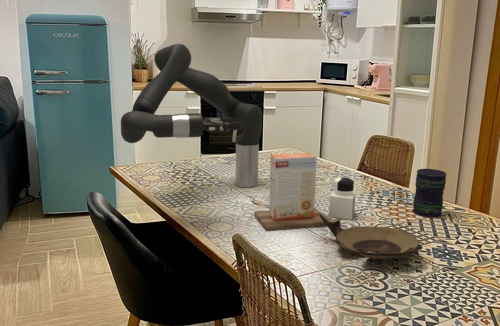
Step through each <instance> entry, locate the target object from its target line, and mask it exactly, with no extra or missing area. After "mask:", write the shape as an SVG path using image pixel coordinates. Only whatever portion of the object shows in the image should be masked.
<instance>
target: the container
mask: <svg viewBox="0 0 500 326" xmlns="http://www.w3.org/2000/svg"><path fill="white" fill-rule="evenodd" d="M354 184H355V181H354V180H353V179H352V178H349V177H345V176H342V177H341V176H340V177H337V178H335V179H334V181H333V191H332V192H331V194H330V196H329V206H328V207H329V208H328V217H329V218H335V219H340V220H342V219H344V220H349V221H351V220H353V216H354V215H355V211H356V210H355V209H356V197H357V192H356V191H354V186H355V185H354Z"/></svg>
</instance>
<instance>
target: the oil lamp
mask: <svg viewBox="0 0 500 326" xmlns="http://www.w3.org/2000/svg"><path fill="white" fill-rule="evenodd" d="M320 217H321V219H322V220H323V222H324V223H325V224H326V225H327V226H326V227H327V228H328V229H329V231H330V232H331V233H332V234H333V235H332V236H334V237H335V241H336V243H337V245H338V246H340V247H341V248H342V249H345V250H346V251H349V252H350V253H353V254H356V255H359V256H361V257H363V258H367V259H375V260H389V259H396V258H401V257H404V256H408V255H414V254H418V253H419V251H421V250H423V245H421V244H420V241H419V239H418V237H416V236H415V235H414V234H411V233H409V232H406V231H404V230H401V229H396V228H392V227H385V226H374V225H373V226H353V227H349V228H343V227H341V219H332V217H329V216H327V215H326V214H325V213H322V212H321V214H320Z"/></svg>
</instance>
